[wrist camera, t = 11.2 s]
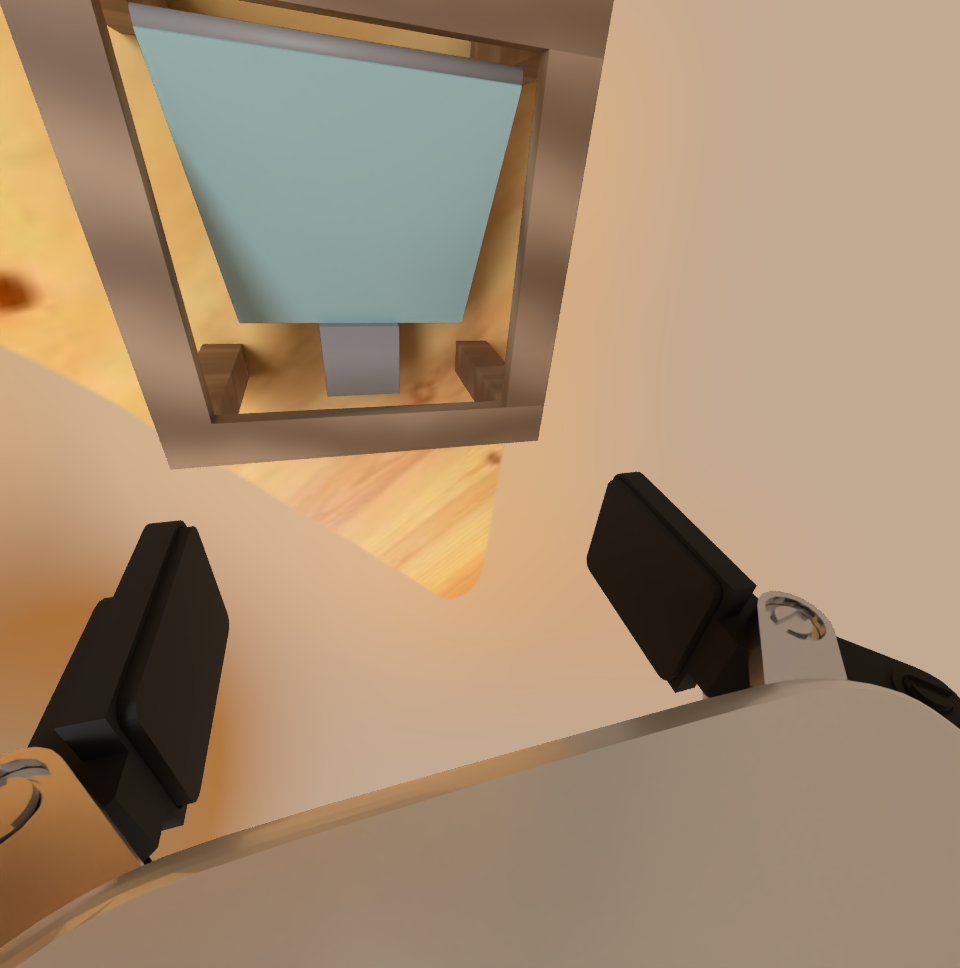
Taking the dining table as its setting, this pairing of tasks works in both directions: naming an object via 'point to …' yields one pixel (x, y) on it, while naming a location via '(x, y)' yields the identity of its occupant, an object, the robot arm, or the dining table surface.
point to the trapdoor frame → (222, 367)
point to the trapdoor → (332, 164)
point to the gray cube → (360, 358)
